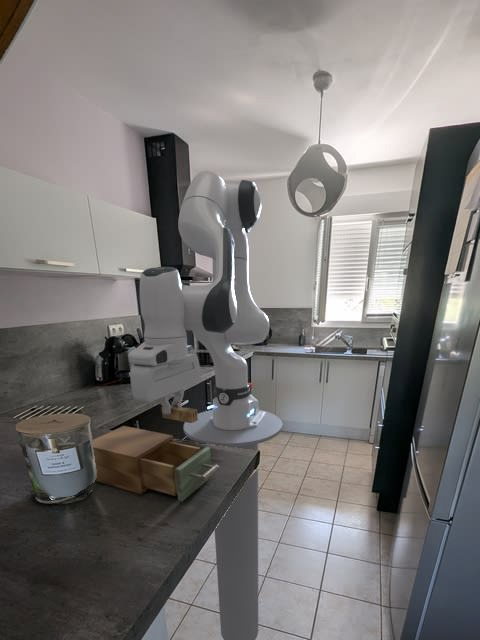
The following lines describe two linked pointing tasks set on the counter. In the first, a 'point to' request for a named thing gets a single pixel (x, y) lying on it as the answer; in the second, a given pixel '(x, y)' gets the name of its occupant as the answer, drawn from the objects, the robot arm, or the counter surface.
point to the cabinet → (125, 456)
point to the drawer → (176, 469)
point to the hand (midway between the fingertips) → (172, 411)
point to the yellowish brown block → (182, 414)
